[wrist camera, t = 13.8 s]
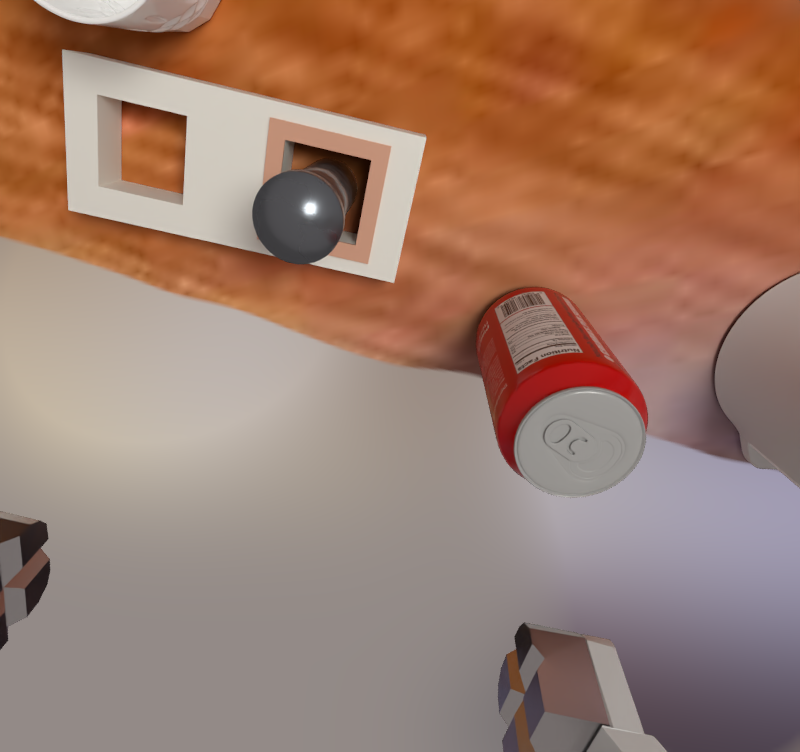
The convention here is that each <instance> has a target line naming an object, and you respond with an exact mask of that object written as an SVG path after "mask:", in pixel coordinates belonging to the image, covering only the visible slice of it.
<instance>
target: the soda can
mask: <svg viewBox="0 0 800 752" xmlns="http://www.w3.org/2000/svg"><path fill="white" fill-rule="evenodd" d="M476 350H477V356H478V360H479V365H480V369H481V373H482V378H483V382H484V386H485V390H486V395H487V399H488V404H489V408H490V413H491V417H492V421H493V426H494V430H495V434H496V439H497V442H498V446H499V448H500V451H501V453H502V455H503V457H504V459H505V460H506V462H507V463H508V465H509V466H510V467H511V468H512V469H513V470H514V471H515V472H516V473H517V474H518V475H520V476H521V477H523V478H524V479H526V480H527V481H528V482H529V483H531V484H532V485H533V486H535V487H536V488H538V489H539V490H542V491H543V492H546V493H548V494H551V495H555V496H560V497H570V498H571V497H572V498H575V497H585V496H590V495H594V494H598V493H601V492H603V491H605V490H608V489H610V488H612V487H613V486H615V485H616V484H618V483H619V482H621V481H622V480H623V479H625V478H626V477H627V476H628V475H629V474H630V473H631V472H632V471H633V469H634V468H635V466H636V465H637V464H638V462H639V460H640V458H641V456H642V454H643V451H644V448H645V443H646V431H647V425H648V412H647V406H646V403H645V400H644V397H643V395H642V393H641V391H640V389H639V387H638V386H637V385H636V383H635V382H634V380H633V379H632V378H631V376H630V375H629V374H628V372H627V371H626V370H625V368H624V367H623V366H622V365H621V363H620V362H619V361H618V359H617V358H616V357H615V355H614V354H613V353H612V351H611V350H610V349H609V348H608V346H607V345H606V344H605V342H604V341H603V340H602V338H601V337H600V336H599V334H598V333H597V332H596V331H595V329H594V328H593V327H592V325H591V324H590V323H589V321H588V320H587V319H586V317H585V316H584V315H583V314H582V312H581V311H580V310H579V308H578V307H577V306H576V305H575V304H574V303H573V302H572V301H571V300H570V299H569V298H567V297H566V296H564V295H563V294H561V293H559V292H557V291H555V290H552V289H548V288H542V287H528V288H522V289H518V290H515V291H512V292H510V293H508V294H506V295H504V296H503V297H501V298H500V299H498V300H497V301H496V302H495V303H493V304H492V305H491V306H490V308H489V309H488V310H487V311H486V313H485V314H484V316H483V317H482V319H481V321H480V324H479V326H478V330H477V335H476Z"/></svg>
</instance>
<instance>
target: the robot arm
mask: <svg viewBox="0 0 800 752" xmlns="http://www.w3.org/2000/svg"><path fill="white" fill-rule="evenodd" d="M715 390H716V395H717V398H718V401H719V404H720V406H721V408H722V410H723V412H724V413H725V415H726V416H727V417H728V418H729V420H730V421H731V422H732V423H733V424H734V426H735V427H736V428H737V430H738V432H739V434H740V441H741V448H742V452H743V455H744V457H745V459H746V460H747V461H749V462H750V463H751V464H752V465H753V466H755V467H757V468H761V469H778V470H779V471H780V472H781V473H783V474H784V475H785V476H786V477H787V478H789V479H790V480H791V481H792V482H793V483H794V484H795V485H797V486H798V487H799V488H800V273H799V274H797V275H795V276H793V277H791V278H789V279H787V280H785V281H783V282H781V283H780V284H778V285H776V286H775V287H773V288H772V289H770V290H769V291H767V292H766V293H765V294H764V295H762V296H761V297H760V298H759V299H757V300H756V301H755V302H754V303H753V304H752V305H751V306H750V307H749V308H748V309H747V310H746V311H745V312H744V313H743V314H742V315H741V317H740V318H739V319H738V320H737V322H736V323H735V324H734V326H733V327H732V329H731V330H730V332H729V333H728V335H727V337H726V339H725V341H724V343H723V345H722V348H721V350H720V353H719V356H718V359H717V364H716V369H715ZM47 540H48V532H47V524H46V523H44V522H41V521H39V520H35V519H31V518H27V517H22V516H18V515H14V514H10V513H6V512H1V511H0V650H1V649H2V647H3V646H4V645H5V644H6V642H7V641H8V626H10V625H12V624H14V623H16V622H18V621H20V620H22V619H24V618H26V617H27V616H28V615H29V614H30V612H31V611H32V610H33V609H34V607H35V606H36V605H37V603H38V602H39V600H40V598H41V596H42V594H43V592H44V590H45V588H46V586H47V584H48V579H49V574H50V559H49V558H48V557H47V555H46V554H45V553H44V552H43V550H42V549H41V547H42V546H43V544H44V543H45V542H46V541H47ZM515 644H516V650H514V651H512V652H510V653H509V654H507V655H506V657H505V660H504V662H503V665H502V667H501V672H500V678H499V683H498V702H499V713H500V715H501V716H502V718H503V719H504V721H505V722H506V724H507V725H508V729H507V731H506V734H505V736H504V738H503V740H502V743H503V751H504V752H667V751H666V750H665V749H664V748H663V746H662V745H661V744H660V743H659V742H658V741H657V739H656V738H655V737H654V736H651V735H647V734H645V733H644V731H643V728H642V725H641V722H640V719H639V716H638V713H637V710H636V707H635V704H634V701H633V699H632V695H631V692H630V690H629V687H628V684H627V681H626V678H625V675H624V672H623V669H622V666H621V663H620V660H619V657H618V654H617V652H616V649H615V646H614V644H613V643H612V642H611V641H610V640H608V639H604V638H599V637H594V636H589V635H584V634H578V633H575V632H570V631H565V630H560V629H555V628H550V627H545V626H540V625H535V624H530V623H525V622H524V623H523V624H522V625H521V626H520V627H519V628H518V631H517V633H516V635H515Z"/></svg>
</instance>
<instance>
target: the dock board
mask: <svg viewBox="0 0 800 752" xmlns="http://www.w3.org/2000/svg"><path fill="white" fill-rule="evenodd" d="M62 61H63V86H64V111H65V136H66V161H67V187H68V210H70V211H75V212H79V213H84V214H88V215H92V216H97V217H101V218H106V219H110V220H115V221H119V222H124V223H128V224H133V225H137V226H142V227H146V228H151V229H155V230H160V231H164V232H168V233H173V234H177V235H182V236H186V237H191V238H195V239H200V240H204V241H209V242H213V243H218V244H222V245H227V246H231V247H236V248H240V249H244V250H249V251H253V252H258V253H262V254H267V255H271V256H274V255H273V254H272V253H270V252H269V251H268V250H267V249H266V248H265V246H264V245H263V244H262V243H261V241H260V240H259V238H258V236H257V234H256V231H255V228H254V225H253V218H252V209H253V203H254V200H255V197H256V195H257V193H258V191H259V190H260V188H261V187H262V186H263V184H264V183H265V182H267V181H268V180H269V179H270V178H272V177H274V176H275V175H277V174H279V173H282V172H284V171H288V170H291V168H292V160H293V152H294V144H295V142H297V143H301V144H305V145H310V146H314V147H318V148H322V149H326V150H331V151H335V152H339V153H343V154H347V155H352V156H356V157H360V158H364V159H368V160H371V165H370V171H369V176H368V181H367V187H366V192H365V198H364V203H363V208H362V214H361V219H360V224H359V230H358V234H355V233H351V232H346V231H343V233H342V236H341V238H340V240H339V241H338V243H337V245H336V246H335V248H334V249H333V250H332V251H331V252H330V253H329V254H328V255H327V256H326V257H324V258H323V259H321V260H319V261H316V262H314V263H309V264H312V265H316V266H320V267H325V268H329V269H334V270H338V271H343V272H347V273H352V274H356V275H361V276H365V277H370V278H374V279H379V280H383V281H388V282H392V283H394V281H395V276H396V272H397V267H398V263H399V258H400V254H401V249H402V245H403V240H404V236H405V231H406V227H407V223H408V218H409V214H410V209H411V205H412V200H413V196H414V191H415V187H416V182H417V178H418V173H419V169H420V164H421V160H422V155H423V151H424V147H425V142H426V135H424V134H420V133H416V132H412V131H408V130H404V129H400V128H396V127H392V126H387V125H383V124H379V123H375V122H371V121H367V120H363V119H359V118H355V117H350V116H346V115H342V114H338V113H334V112H330V111H326V110H322V109H318V108H313V107H309V106H305V105H301V104H297V103H293V102H289V101H285V100H281V99H276V98H272V97H268V96H264V95H260V94H256V93H252V92H248V91H244V90H239V89H235V88H231V87H227V86H223V85H219V84H215V83H211V82H207V81H202V80H198V79H194V78H190V77H186V76H182V75H178V74H174V73H170V72H165V71H161V70H157V69H153V68H149V67H145V66H141V65H137V64H132V63H128V62H124V61H120V60H116V59H112V58H108V57H104V56H100V55H95V54H91V53H85V52H78V51H71V50H64V49H62ZM122 101H127V102H131V103H135V104H139V105H143V106H148V107H152V108H156V109H160V110H164V111H169V112H173V113H177V114H181V115H185V116H187V130H186V151H185V172H184V192H183V194H180V193H176V192H171V191H167V190H163V189H158V188H154V187H150V186H145V185H141V184H137V183H132V182H128V181H123V180H121V135H122Z"/></svg>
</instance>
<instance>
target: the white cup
mask: <svg viewBox="0 0 800 752" xmlns="http://www.w3.org/2000/svg"><path fill="white" fill-rule="evenodd" d="M34 1H35V2H37V3H38V4H39V5H41V6H42V7H44V8H45V9H47V10H49V11H50V12H52V13H54V14H56V15H58V16H60V17H63V18H65V19H68V20H71V21H74V22H78V23H84V24H92V25H99V26H106V27H113V28H120V29H126V30H134V31H144V32H190V31H192V30H193V29H195V28H197V27H198V26H200V25H202V24H203V23H205V22H207V21H208V20H210V19H211V17H212V15H213V13H214V12H215V10H216V8H217V6H218V4H219V3H220V1H221V0H34Z"/></svg>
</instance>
